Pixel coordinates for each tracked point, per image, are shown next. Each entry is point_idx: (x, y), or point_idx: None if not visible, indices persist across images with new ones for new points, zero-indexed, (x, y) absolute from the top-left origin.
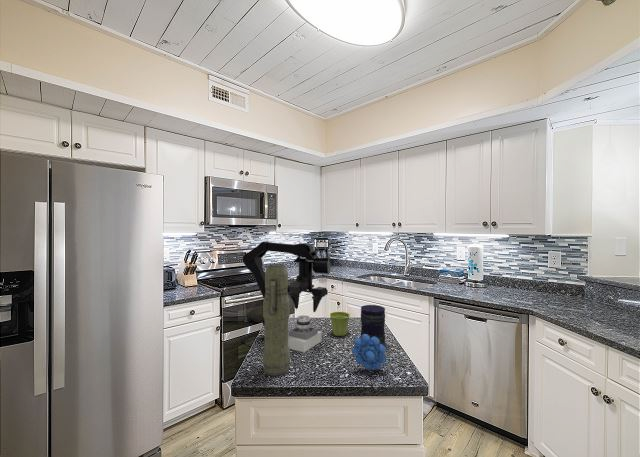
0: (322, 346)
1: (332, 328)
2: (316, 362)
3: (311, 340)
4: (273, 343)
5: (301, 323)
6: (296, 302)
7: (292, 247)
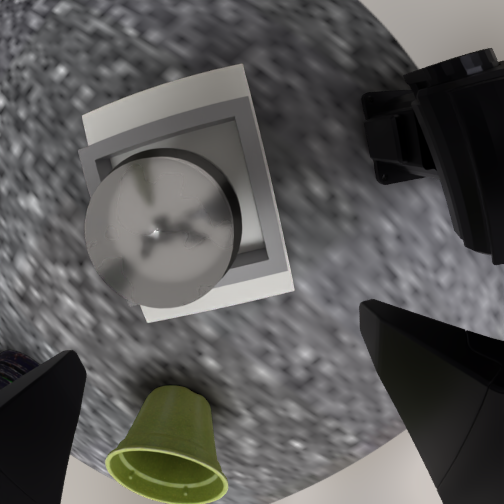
0: None
1: (190, 407)
2: (13, 111)
3: None
4: None
5: (123, 161)
6: (404, 364)
7: None
